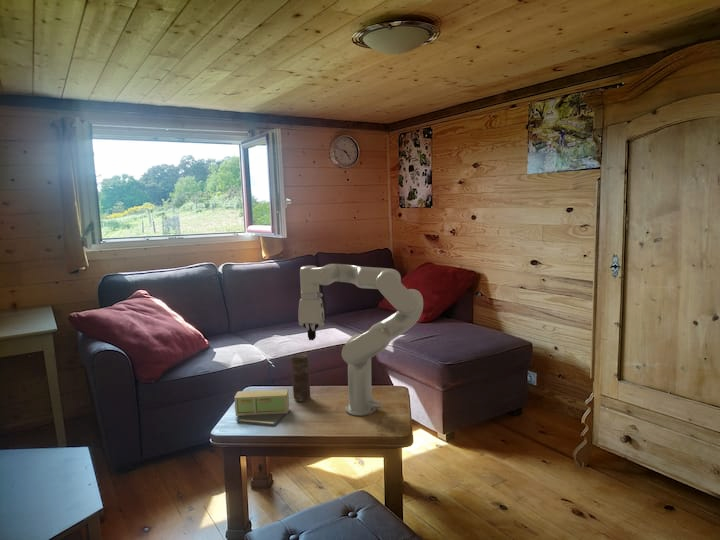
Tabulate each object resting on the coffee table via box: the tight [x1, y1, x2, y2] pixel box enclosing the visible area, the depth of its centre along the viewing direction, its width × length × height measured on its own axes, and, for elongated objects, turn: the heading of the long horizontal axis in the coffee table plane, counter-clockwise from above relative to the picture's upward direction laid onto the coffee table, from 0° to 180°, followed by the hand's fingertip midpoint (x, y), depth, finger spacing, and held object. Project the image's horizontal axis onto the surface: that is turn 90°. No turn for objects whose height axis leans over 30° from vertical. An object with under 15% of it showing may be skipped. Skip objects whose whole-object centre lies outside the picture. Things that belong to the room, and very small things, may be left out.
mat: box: [236, 413, 287, 427], centre depth 198 cm, size 16×14×1 cm
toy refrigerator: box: [234, 388, 290, 417], centre depth 201 cm, size 8×7×21 cm
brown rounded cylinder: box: [290, 353, 311, 403], centre depth 214 cm, size 8×7×20 cm
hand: (311, 339), depth 204 cm, fingers closed
